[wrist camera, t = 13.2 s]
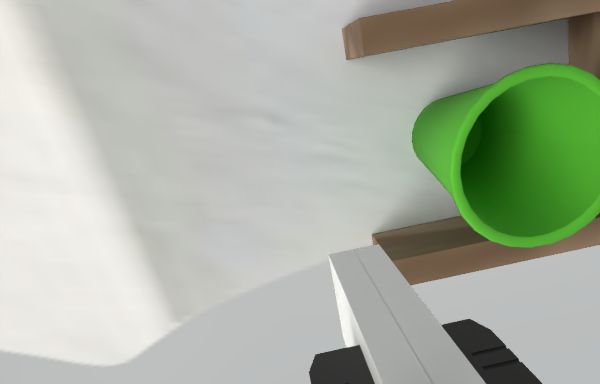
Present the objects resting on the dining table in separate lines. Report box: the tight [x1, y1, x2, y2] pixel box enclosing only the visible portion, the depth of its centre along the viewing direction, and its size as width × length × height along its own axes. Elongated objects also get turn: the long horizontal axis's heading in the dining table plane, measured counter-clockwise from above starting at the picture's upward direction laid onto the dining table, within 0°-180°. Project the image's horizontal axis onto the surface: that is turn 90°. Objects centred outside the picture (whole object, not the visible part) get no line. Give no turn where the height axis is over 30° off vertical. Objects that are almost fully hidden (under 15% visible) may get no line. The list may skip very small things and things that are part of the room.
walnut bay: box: [342, 0, 600, 285], centre depth 28 cm, size 17×18×5 cm
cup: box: [412, 63, 600, 248], centre depth 25 cm, size 9×9×11 cm
